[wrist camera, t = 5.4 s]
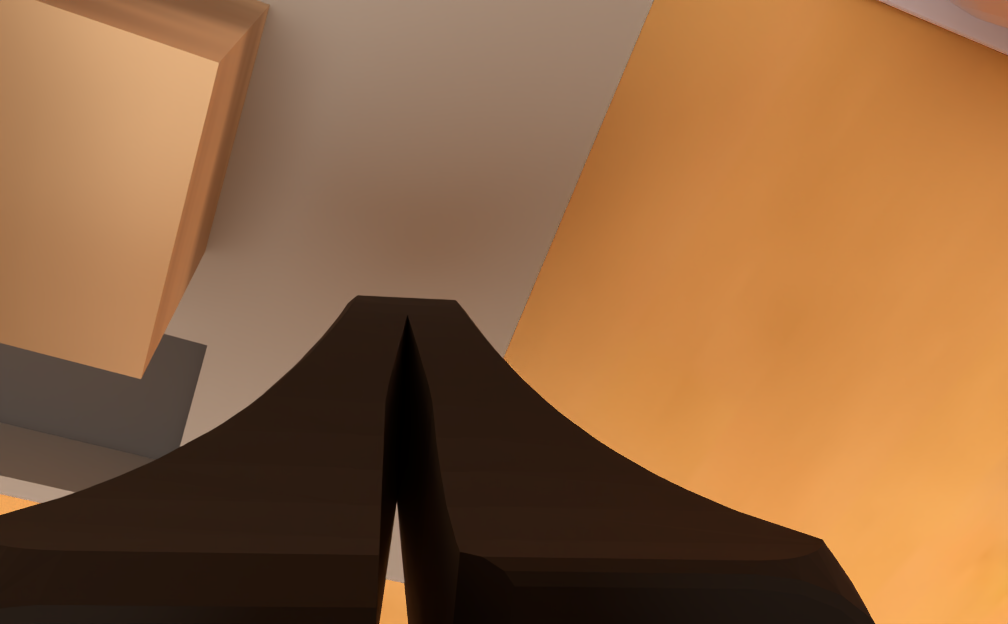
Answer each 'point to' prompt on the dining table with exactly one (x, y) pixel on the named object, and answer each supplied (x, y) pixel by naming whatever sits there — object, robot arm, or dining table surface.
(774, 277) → the dining table surface
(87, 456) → the trap board
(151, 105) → the block
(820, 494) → the dining table surface
